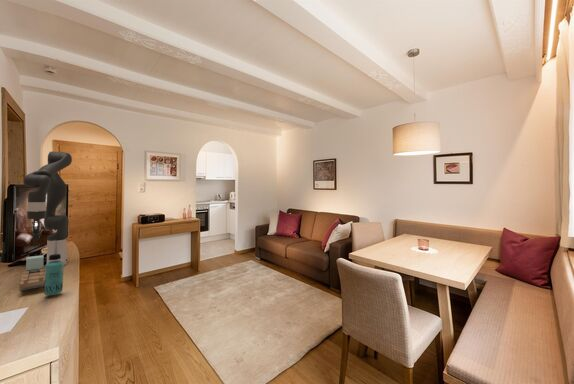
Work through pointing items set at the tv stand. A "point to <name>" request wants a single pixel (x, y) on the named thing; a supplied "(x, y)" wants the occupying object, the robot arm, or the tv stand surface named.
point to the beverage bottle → (53, 276)
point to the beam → (32, 279)
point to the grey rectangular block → (34, 263)
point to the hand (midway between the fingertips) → (35, 240)
